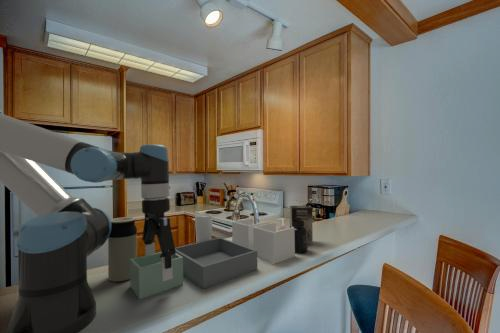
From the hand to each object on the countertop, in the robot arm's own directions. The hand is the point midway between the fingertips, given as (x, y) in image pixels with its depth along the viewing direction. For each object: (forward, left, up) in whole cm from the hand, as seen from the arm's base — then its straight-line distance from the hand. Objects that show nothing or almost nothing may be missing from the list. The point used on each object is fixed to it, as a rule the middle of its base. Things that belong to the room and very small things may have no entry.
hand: (158, 272), depth 71 cm
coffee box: (+62, -3, -4) cm, 62 cm away
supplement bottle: (+53, -9, -4) cm, 54 cm away
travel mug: (-6, +13, -4) cm, 15 cm away
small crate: (0, 0, -4) cm, 4 cm away
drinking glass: (+24, +16, -4) cm, 29 cm away
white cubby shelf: (+42, +1, -4) cm, 42 cm away
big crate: (+19, 0, -4) cm, 19 cm away
